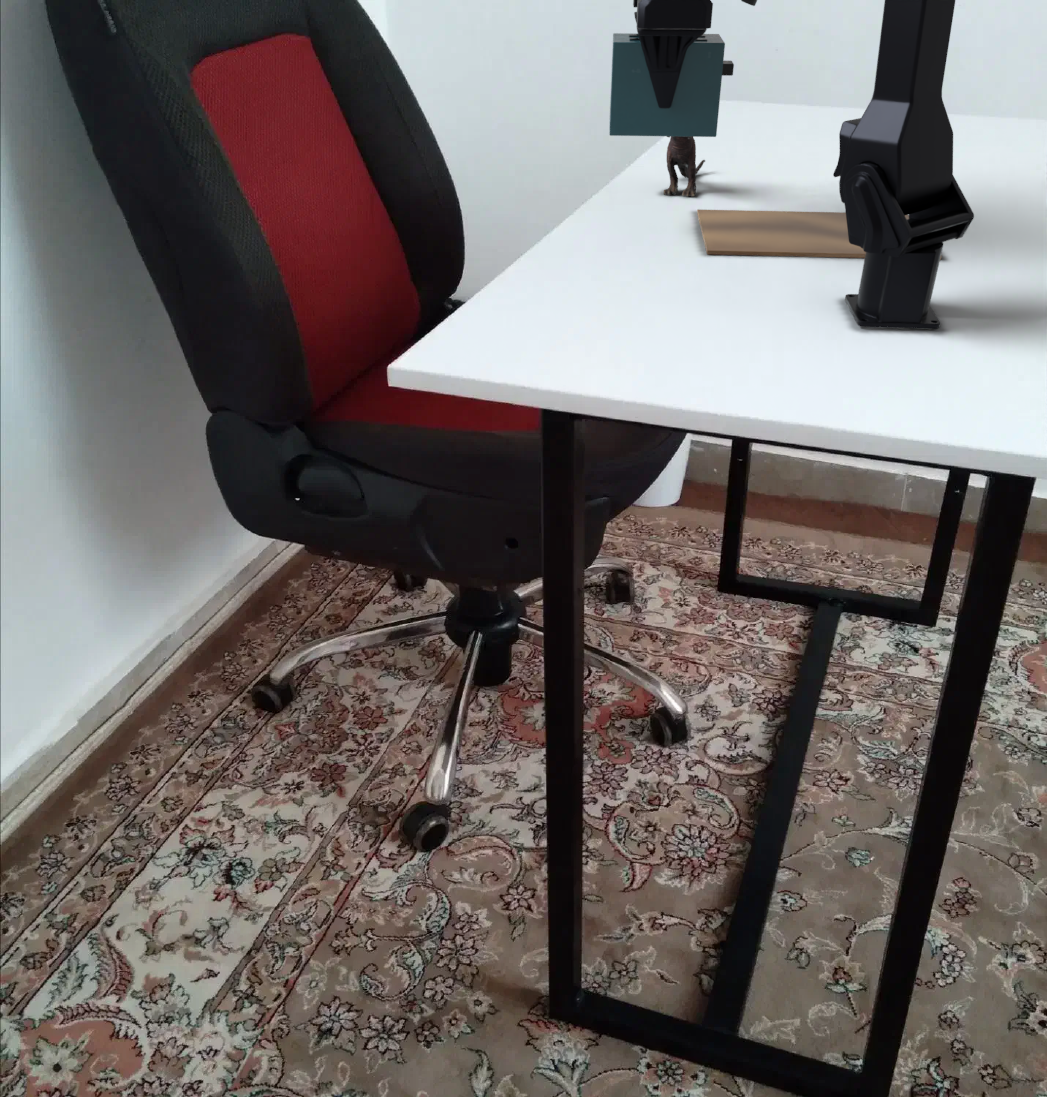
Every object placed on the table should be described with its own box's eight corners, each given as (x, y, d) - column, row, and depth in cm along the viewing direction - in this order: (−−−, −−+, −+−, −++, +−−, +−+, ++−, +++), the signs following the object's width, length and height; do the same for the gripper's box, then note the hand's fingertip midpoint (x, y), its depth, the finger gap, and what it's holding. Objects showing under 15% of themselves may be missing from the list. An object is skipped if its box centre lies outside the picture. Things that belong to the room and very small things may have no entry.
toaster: (609, 135, 97) (613, 40, 93) (609, 122, 102) (613, 31, 98) (729, 137, 97) (738, 41, 92) (723, 123, 102) (732, 32, 97)
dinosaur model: (668, 84, 108) (691, 70, 120) (653, 200, 114) (677, 175, 126) (706, 88, 107) (726, 74, 119) (689, 204, 113) (709, 179, 125)
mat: (941, 259, 98) (941, 255, 97) (706, 254, 99) (707, 250, 99) (906, 217, 109) (906, 213, 109) (696, 213, 111) (697, 209, 110)
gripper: (785, -88, 81) (760, 122, 90) (756, -95, 97) (738, 85, 105) (643, -88, 82) (632, 121, 91) (637, -95, 97) (629, 84, 106)
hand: (663, 101), depth 98 cm, fingers closed on toaster, 6 cm apart
